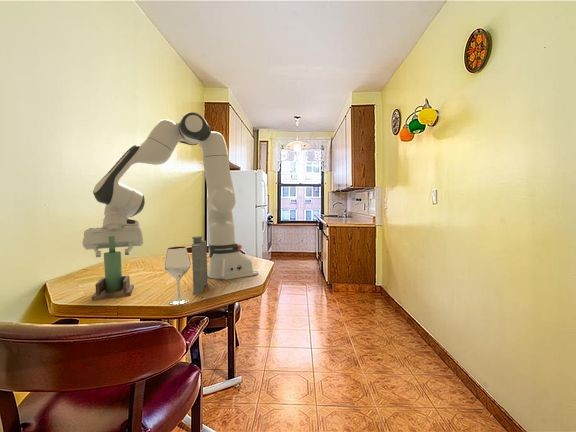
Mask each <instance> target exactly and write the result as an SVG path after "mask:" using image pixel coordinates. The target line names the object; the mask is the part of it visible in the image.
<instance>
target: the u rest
mask: <svg viewBox="0 0 576 432" xmlns="http://www.w3.org/2000/svg"><path fill="white" fill-rule="evenodd" d="M130 281H131V280H130V275H129V274H128V275H122V286H123V289H122V290H120V291H116V292H106V287H105V277H100V278H99V280H98V281H97V282H96V284H95V292H94V293H93V295H91V300H92V301H95V300H102V299H111V298H112V297H113V298H121V297H128V296H131V295H132V294H133V293H132V292H133V291H134V287H135V285H134V284H130V283H131V282H130ZM132 290H133V291H132Z"/></svg>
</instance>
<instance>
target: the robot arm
mask: <svg viewBox="0 0 576 432" xmlns="http://www.w3.org/2000/svg"><path fill="white" fill-rule="evenodd" d="M179 143H180V144H184V145H187V146H197V145H199V146H200V148H201V154H202V155H201V157H202V161H203V162H202V163H203V171H204V178H205V183H206V187H207V189H206V190H207V194H208V196H207V198H206V207H207V219H208V230H209V231H208V232H209V237H208V238H209V244H208V257H209V264H208V265H209V266H208V269H207V275H208V279H215V280H216V279H218V280H226V281H227V280H233V279H239V278H245V277H250V276H251V277H252V276H257V275H258V274H259V271H258V270H257V269H256V268H255V267H254V266H253V262H252V260H251V259H250V258H249V257H248V256H246V255H245V254H244V253H243V252H241V251H240V250H242V244H237V243H236V240H235V239H236V237H235V236H236V235H235V223H234V218H233V209H234V208H235V205H236V195H235V189H234V184H233V180H232V176H231V175H232V174H231V169H230V161H229V153H228V148H227V144H226V140H225V137H224V135H223V134H221V133H220V132H218V131H212V128H211V127H210V124H208V123H207V120H206V119H205V118H204V117H203V115H201V114H200V113H198V112H195V111H190V112H187V113H185V114H184V115H182V117H181V119H180V121H179V122H175V121H173V120H170V119H166V118H163V119H161V120H159V121H158V122H157V123H156V124H155V126H154V127H153V129H152V130H151V131H150V133H149V134H148V136H147V138H146V139H145V140H144V141H143V142H142V143H141V144H139V145H136V144H135V145H134V144H133V146H131V147H130V148H128V149H127V150H126V152H124V153H123V155H122V156H121V157H120V158H119V159H118V160H117V162H115V163H114V165H113V166H112V167H111V168H110V170H108V172H107V173H106V174H105V175H104V176H103V177H102V178H101V179H100V180H99V181H98V182H97V183H96V184H95V186H94V187H93V191H92V195H93V196H94V199H95V200H96V201H97V202H98V203H101V204H104V205H105V207H104V213H103V214H104V217H103V220H102V221H103V222H102V227H89V228H88V229H85V230H84V232H83V239H82V246H83V248H84V249H85V250H93V251H94V253H95V257H96V258H101V257H102V252H101V249H102V250H103V249H109V238H108V236H115V249H116V248H125V249H124V256H129V255H130V253H131V251H132V250H133V249H134V247H141V246H142V245H143V244H144V239H143V237H144V236H143V231H142V228H141V227H140V222H139V220H136V219H131V218H132V217H134V216H136V215H138V214H140V213H141V212H142V211H143V209H144V207H145V200H146V199H145V195H144V194H143V193H142V192H140V191H138V190H137V189H134V188H133V187H129V186H128V185H126V184H123V183H121V182H120V179H121V178H122V177H123V176H124V175H125V174H126V173H127V171H128V170H129V169H130V168H131V166H134V165H135V164H139V163H140V164H147V165H155V166H157V165H158V166H159V165H162V164H165V163H166V162H167V161H168V160H169V159H170V158H171V156H172V154H173V152H174V151H175V149H176V147H177V145H178V144H179ZM126 247H127V248H126Z"/></svg>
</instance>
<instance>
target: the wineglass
mask: <svg viewBox="0 0 576 432" xmlns="http://www.w3.org/2000/svg"><path fill="white" fill-rule="evenodd" d="M189 255H190V254H189V251H188V249H187V246H172V247H167V249H166V253H165V259H164V263H163V267H164V270H165V271H166V272H167V273H168V274H169V275H170V276H172V278H174V279H175V281H176V286H177V298H175V299H174V298H173V299H171V300H169V301H168V304H169V305H173V306H177V305H178V306H179V305H184V304H187V303H189V302H190V299H189V298H186V297H181V285H180V283H181V282H180V281H181V278H182V277H184V275H185V274H187V273H188V271H190V268H191V266H192V265H191V259H190V256H189Z"/></svg>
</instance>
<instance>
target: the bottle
mask: <svg viewBox="0 0 576 432" xmlns="http://www.w3.org/2000/svg"><path fill="white" fill-rule="evenodd" d="M108 238H109V248H108V251H107V252H104V253H103V264H104V265H103V266H104V278H105V287H106V292H116V291H120V290H122V289H123V286H122V276H123V271H122V270H123V269H122V268H123V267H122V266H123V265H122V252H121V251H117V250H116V248H115V236H108Z"/></svg>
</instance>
